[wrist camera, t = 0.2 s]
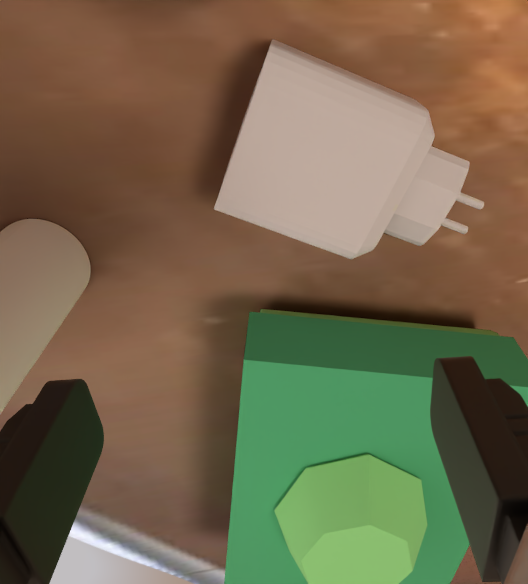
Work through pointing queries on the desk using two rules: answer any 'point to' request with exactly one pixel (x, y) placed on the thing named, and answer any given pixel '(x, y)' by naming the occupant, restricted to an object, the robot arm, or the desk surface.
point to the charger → (338, 160)
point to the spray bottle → (35, 293)
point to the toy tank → (348, 450)
